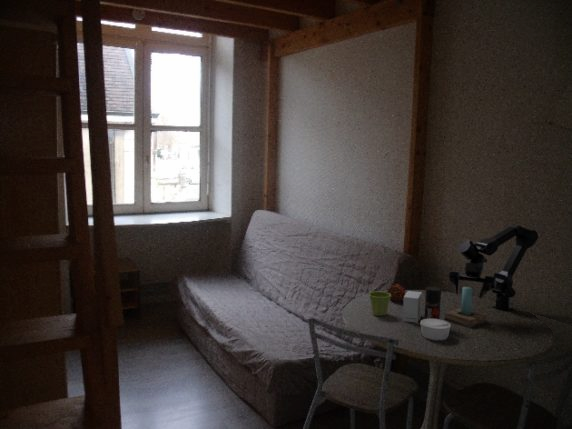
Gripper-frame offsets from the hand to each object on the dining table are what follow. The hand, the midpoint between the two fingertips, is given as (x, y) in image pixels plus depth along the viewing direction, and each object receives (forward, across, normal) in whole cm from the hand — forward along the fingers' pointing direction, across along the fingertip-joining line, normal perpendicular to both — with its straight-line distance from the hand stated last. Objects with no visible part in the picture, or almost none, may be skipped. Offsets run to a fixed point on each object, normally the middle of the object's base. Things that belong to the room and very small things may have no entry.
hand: (468, 296), depth 218 cm
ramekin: (+27, -6, -12) cm, 30 cm away
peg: (+8, 0, +5) cm, 9 cm away
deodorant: (+18, -10, -3) cm, 21 cm away
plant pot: (+17, -34, -3) cm, 38 cm away
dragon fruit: (0, -35, +14) cm, 38 cm away
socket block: (+8, 0, +6) cm, 10 cm away
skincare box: (+15, -20, -1) cm, 25 cm away
